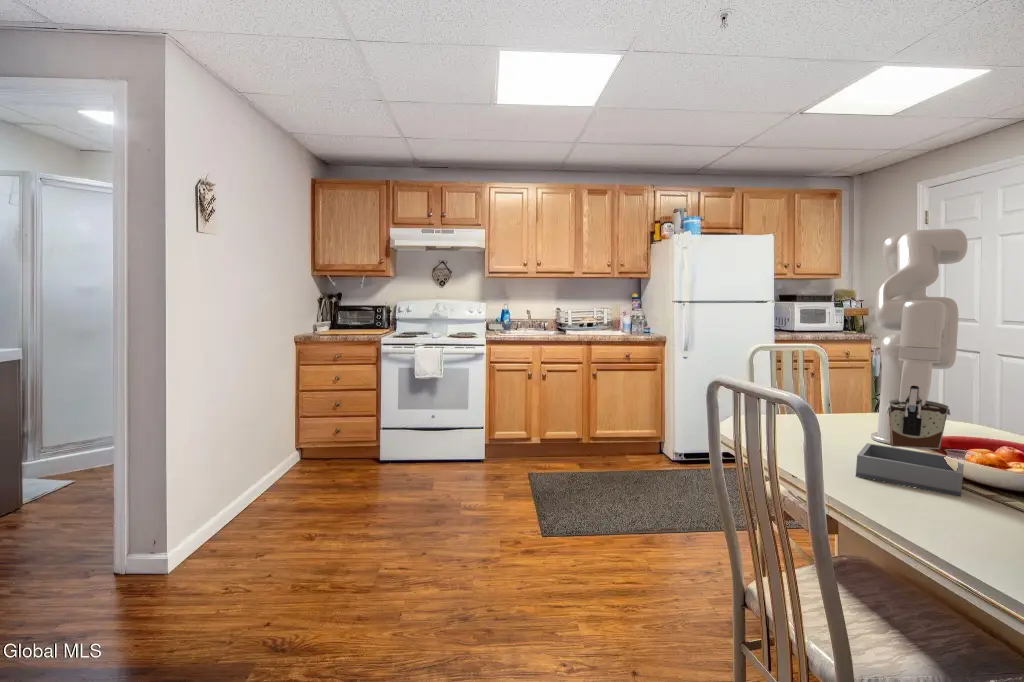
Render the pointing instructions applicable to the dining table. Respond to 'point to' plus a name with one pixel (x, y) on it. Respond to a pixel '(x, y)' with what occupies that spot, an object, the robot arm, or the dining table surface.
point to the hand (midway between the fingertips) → (912, 431)
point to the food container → (930, 425)
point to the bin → (909, 468)
